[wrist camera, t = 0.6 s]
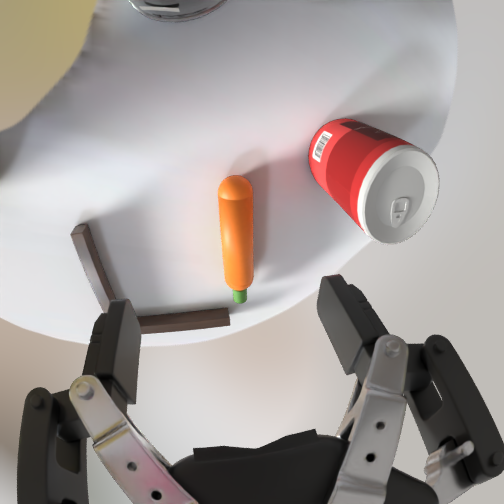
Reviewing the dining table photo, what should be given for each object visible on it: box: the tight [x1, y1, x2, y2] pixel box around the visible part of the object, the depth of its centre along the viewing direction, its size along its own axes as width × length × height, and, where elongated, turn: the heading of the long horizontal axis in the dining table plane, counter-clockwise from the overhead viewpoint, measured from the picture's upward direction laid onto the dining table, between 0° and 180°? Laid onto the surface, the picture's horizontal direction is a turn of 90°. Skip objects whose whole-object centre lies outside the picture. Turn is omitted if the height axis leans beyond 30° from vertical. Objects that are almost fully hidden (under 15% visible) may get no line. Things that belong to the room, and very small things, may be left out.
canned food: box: [308, 118, 439, 245], centre depth 22 cm, size 8×8×11 cm
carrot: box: [218, 175, 254, 304], centre depth 29 cm, size 15×3×3 cm, turn 0°
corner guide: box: [70, 224, 230, 334], centre depth 30 cm, size 16×16×2 cm
